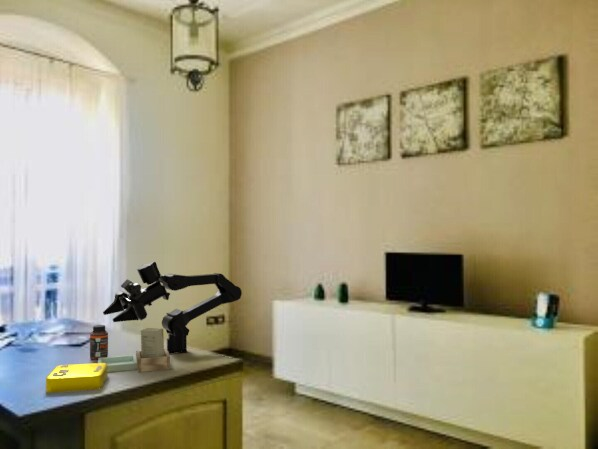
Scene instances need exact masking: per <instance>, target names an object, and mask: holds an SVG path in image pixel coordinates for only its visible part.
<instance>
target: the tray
mask: <svg viewBox="0 0 598 449" xmlns="http://www.w3.org/2000/svg"><path fill="white" fill-rule="evenodd" d="M97 363H106V364H107V365H108V373H109V372H120V371H121V372H122V371H132V370H137V359H136V354H130V355H129V354H128V355H119V356H117V355H116V356H108V357H102V358H98V360H97Z"/></svg>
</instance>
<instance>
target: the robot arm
mask: <svg viewBox="0 0 598 449" xmlns="http://www.w3.org/2000/svg"><path fill="white" fill-rule="evenodd" d="M136 270H137V273H138V275H139V277H140V279H141V282H142V284H147V285H148V286H146V287H144V288H142V286H141V284H140V283H138V282H135V283H134V282H132V281H131V280H129V279H126V280H124V282H123V283H122V284H121V285H120V287H121V288H123V289H124V290H125V291H126V292H127V293H126V292H125V291H122V290H119V291H116V292H114V293H115V295H114V300H113V301H112V303H111V304H109V306H107V307H106V309H104V310H103V312H102V313H103V315H104V316H107V315H111V314H115V313H119V312H121V313H119V314H117V315H116V316H115V317H114V318H112V321H113V323H119V322H127V321H128V322H130V321H143V320H145V319H146V318H147V316H148V313H147V311H146V308H145V307H146V306H149V307H151V306H153V303H154V302H155V301H157V300H159V299H161V298H163V300H165V301H169V299H170V296H171V292H167V290H170V291H179V290H183V289H186V288H188V287H193V286H194V287H195V286H205V285H215V287H216V288H217V290H218V291H217V292H216V293H215V294H214V295H212V296H210V297H209V298H206V299H204V300H202V301H201V302H199V303H196V304H194V305H193V306H190V307H188V308H187V309H185V310H181V309H178V308H175V309H173V310H172V311H169V312H166V313H165V314H166V315H164V316H163V317H162V320H161V326H162V329H163V330H165V331H166V333H167V334H168V335H167V336H168V338H166V349H167V351H168V353H169V355H170V354H180V353H181V354H182V353H188V350H187V343H188V342H187V338H188V336H189V333H190V329H189V327H188V326H187V325H188V324H189V323H190V322H191V321H192V320H194V319H196V318H198V317H200V316H202V315H205V314H206V313H208V312H210V311H211V310H214V309H216V308H218V307H219V306H222V305H225V304H230V303H234V302H236V301H239V300H240V299H241V298H242V294H243V291H242V289H241V287H239V286H237V285H235V284H234V282H232V281H230V279H228V278H227V277H226V276H225V275H224V274H222V273H217V272H214V273H207V274H206V273H205V274H196V275H195V274H194V275H183V274H176V273H175V274H174V273H166V274H161V273H160V270H159V268H158V265H157V262H156V261H151V262H148V263H145V264H142V265H140V266H138V267H137V268H136Z"/></svg>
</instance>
